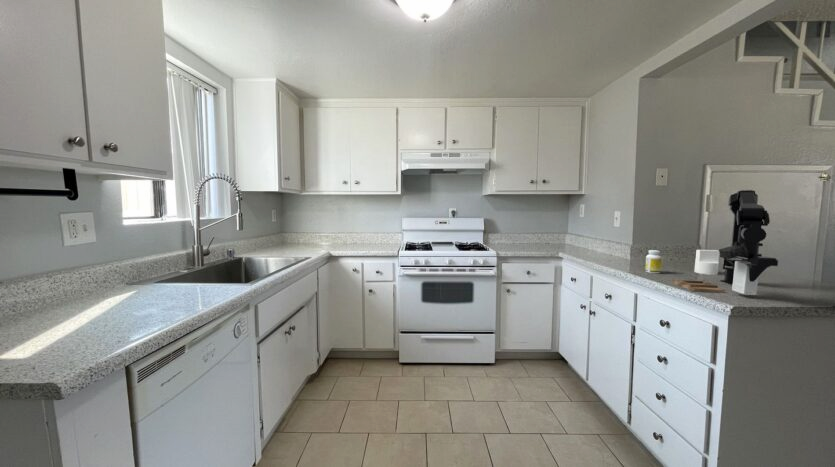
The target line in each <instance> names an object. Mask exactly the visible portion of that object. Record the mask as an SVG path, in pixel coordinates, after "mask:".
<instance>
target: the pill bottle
mask: <svg viewBox="0 0 835 467" xmlns="http://www.w3.org/2000/svg"><path fill="white" fill-rule="evenodd" d="M660 253H661V252H660V250H655V249H649V250H648V254H647V255H646V256H645V272H646V273H649V274H660V273H661V272H662V271H661V270H662V269H661V268H662V256H661V255H660Z"/></svg>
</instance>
